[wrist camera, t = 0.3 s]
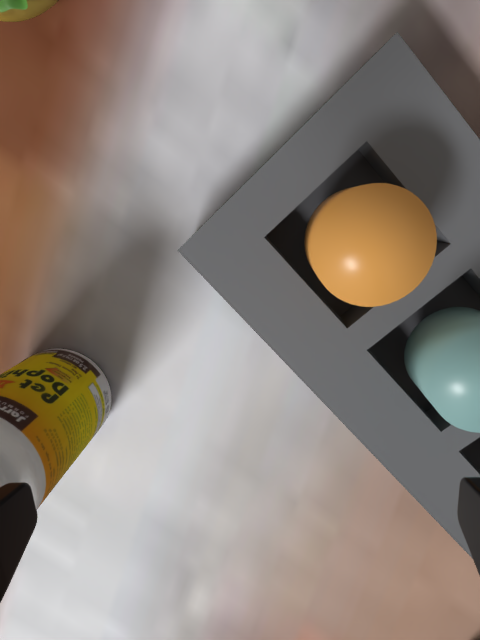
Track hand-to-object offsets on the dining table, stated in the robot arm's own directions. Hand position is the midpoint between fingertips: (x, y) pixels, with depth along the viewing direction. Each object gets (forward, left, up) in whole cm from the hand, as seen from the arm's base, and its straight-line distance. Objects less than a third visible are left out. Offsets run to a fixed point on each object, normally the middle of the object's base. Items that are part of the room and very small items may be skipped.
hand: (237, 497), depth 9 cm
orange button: (0, -6, -11) cm, 13 cm away
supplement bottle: (+4, +11, -14) cm, 18 cm away
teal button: (-7, -6, -11) cm, 14 cm away
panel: (-7, -6, -14) cm, 16 cm away
